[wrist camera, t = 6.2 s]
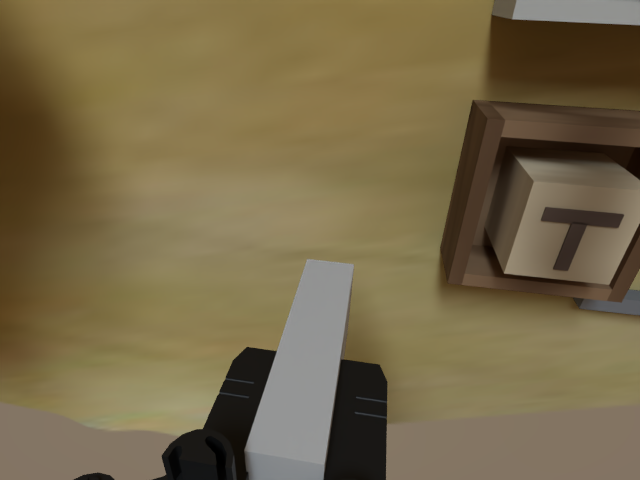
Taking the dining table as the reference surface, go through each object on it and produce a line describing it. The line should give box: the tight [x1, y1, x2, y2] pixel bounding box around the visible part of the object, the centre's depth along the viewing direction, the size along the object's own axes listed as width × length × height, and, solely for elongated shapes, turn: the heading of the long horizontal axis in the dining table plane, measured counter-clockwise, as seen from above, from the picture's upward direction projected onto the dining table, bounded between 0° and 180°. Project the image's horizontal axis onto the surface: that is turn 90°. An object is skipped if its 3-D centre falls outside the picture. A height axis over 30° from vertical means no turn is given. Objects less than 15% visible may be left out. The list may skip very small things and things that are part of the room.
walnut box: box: [440, 100, 640, 303], centre depth 20 cm, size 8×8×4 cm
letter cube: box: [485, 146, 640, 285], centre depth 19 cm, size 4×4×5 cm
